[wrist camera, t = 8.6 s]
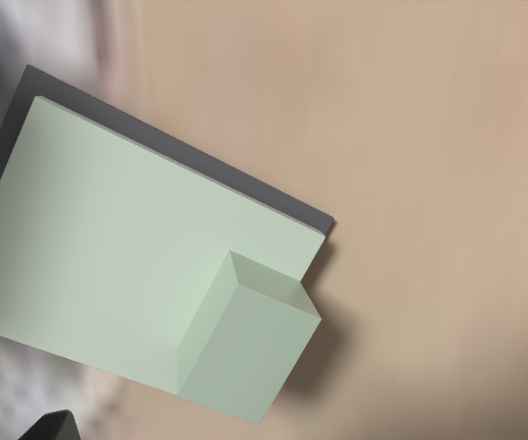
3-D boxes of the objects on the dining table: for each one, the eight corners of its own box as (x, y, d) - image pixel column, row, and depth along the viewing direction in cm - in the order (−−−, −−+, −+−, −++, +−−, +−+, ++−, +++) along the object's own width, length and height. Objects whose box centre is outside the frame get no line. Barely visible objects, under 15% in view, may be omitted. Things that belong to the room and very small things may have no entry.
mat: (331, 216, 22) (334, 218, 21) (224, 403, 24) (225, 408, 23) (30, 65, 18) (26, 64, 18) (-68, 303, 20) (-73, 307, 19)
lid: (318, 228, 21) (353, 266, 17) (224, 395, 23) (233, 470, 19) (44, 95, 18) (-2, 100, 13) (-43, 303, 20) (-109, 368, 15)
